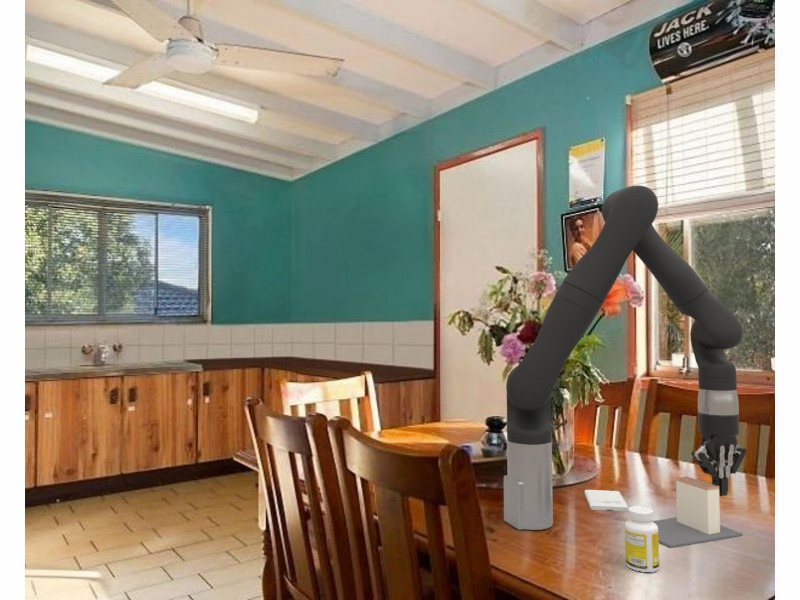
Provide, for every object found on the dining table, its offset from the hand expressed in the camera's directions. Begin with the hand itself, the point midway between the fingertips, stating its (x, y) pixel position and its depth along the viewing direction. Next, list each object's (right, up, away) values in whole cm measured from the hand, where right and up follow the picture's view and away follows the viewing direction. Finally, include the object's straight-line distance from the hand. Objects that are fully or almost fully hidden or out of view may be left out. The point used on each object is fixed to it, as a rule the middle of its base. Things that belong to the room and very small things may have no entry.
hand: (720, 495), depth 124 cm
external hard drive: (-18, -8, +16) cm, 25 cm away
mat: (-9, -6, -3) cm, 12 cm away
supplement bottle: (-25, -6, -21) cm, 33 cm away
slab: (-6, -6, -2) cm, 8 cm away
